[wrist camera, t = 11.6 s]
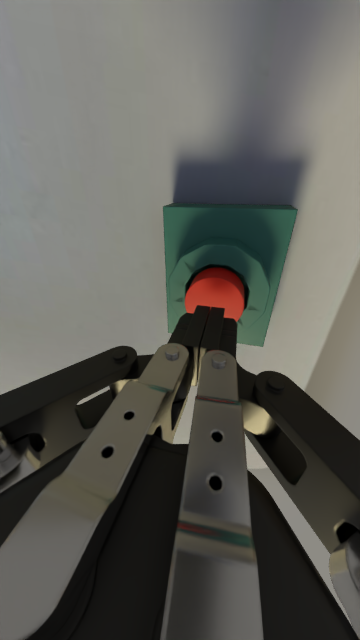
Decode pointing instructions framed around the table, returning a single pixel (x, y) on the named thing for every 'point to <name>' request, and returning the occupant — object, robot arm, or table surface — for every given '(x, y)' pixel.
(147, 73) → the table surface
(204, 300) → the button
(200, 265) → the control block
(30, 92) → the table surface
